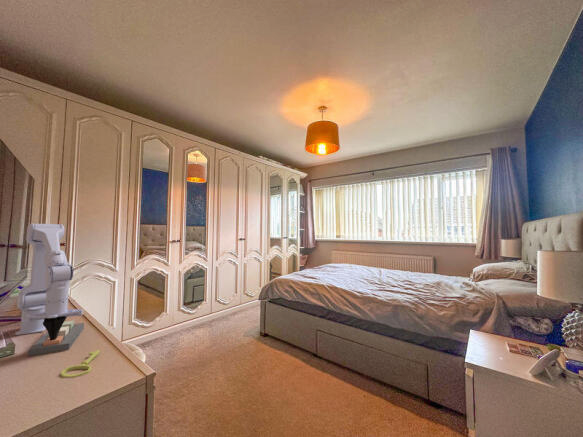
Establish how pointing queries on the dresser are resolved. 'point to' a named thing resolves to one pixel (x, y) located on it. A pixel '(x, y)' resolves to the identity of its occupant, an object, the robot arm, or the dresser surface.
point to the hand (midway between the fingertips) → (53, 338)
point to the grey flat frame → (62, 346)
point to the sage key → (68, 324)
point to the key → (80, 366)
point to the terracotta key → (53, 341)
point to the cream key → (63, 331)
